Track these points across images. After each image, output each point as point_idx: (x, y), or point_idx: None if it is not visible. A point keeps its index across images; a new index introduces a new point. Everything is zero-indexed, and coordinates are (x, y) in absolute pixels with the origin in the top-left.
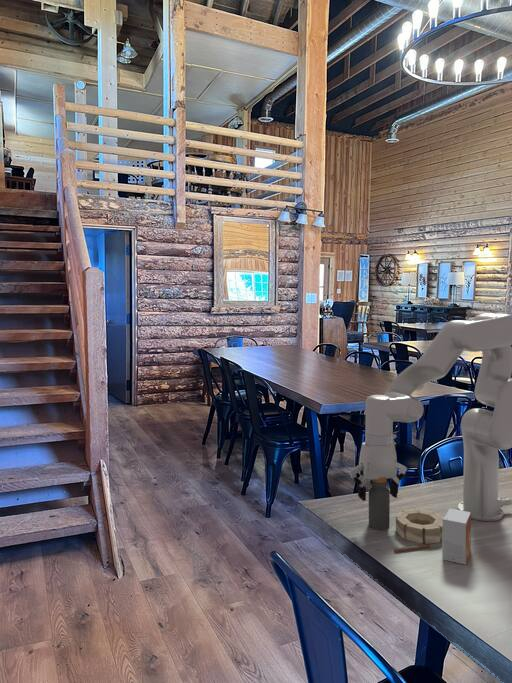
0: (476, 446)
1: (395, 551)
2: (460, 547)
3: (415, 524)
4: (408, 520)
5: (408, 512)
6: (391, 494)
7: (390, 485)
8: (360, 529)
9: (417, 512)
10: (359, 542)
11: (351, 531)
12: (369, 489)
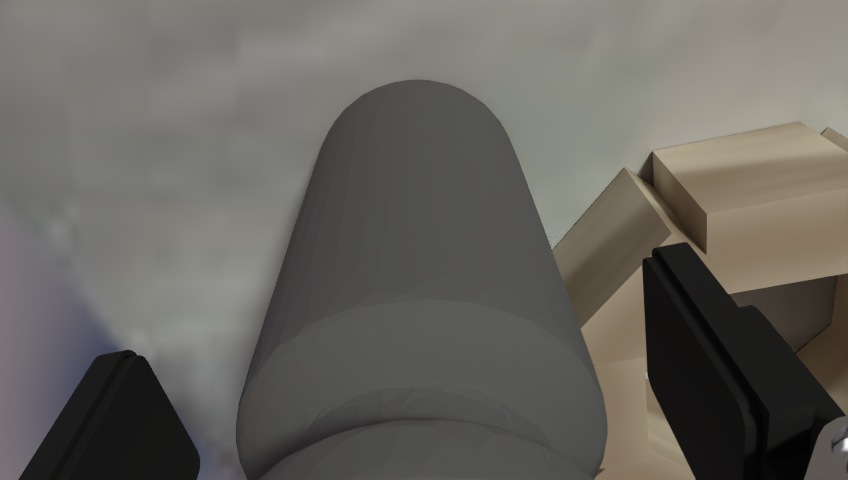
0: None
1: None
2: None
3: (668, 476)
4: (646, 418)
5: (744, 270)
6: (648, 305)
7: (705, 375)
8: (231, 240)
9: (842, 272)
10: (211, 416)
11: (150, 270)
12: (243, 455)
